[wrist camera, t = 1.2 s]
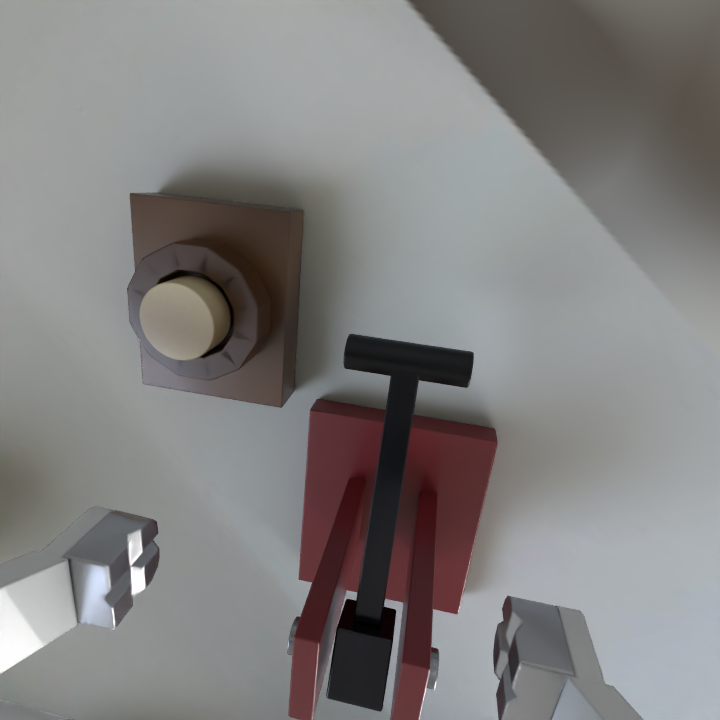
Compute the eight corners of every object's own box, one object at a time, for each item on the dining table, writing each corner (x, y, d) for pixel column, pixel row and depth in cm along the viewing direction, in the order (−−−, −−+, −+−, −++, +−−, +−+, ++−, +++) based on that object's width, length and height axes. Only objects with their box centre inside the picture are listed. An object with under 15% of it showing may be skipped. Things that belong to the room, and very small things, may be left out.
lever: (354, 335, 21) (345, 331, 18) (470, 352, 20) (476, 351, 18) (305, 653, 21) (290, 690, 19) (418, 680, 20) (418, 722, 18)
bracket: (316, 398, 27) (228, 539, 16) (495, 428, 26) (527, 603, 15) (305, 562, 32) (228, 761, 21) (457, 595, 30) (462, 826, 19)
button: (158, 270, 22) (136, 277, 21) (231, 280, 22) (213, 288, 20) (162, 343, 24) (141, 354, 22) (231, 354, 23) (214, 366, 22)
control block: (155, 192, 25) (103, 193, 21) (304, 209, 24) (277, 214, 20) (164, 370, 28) (121, 397, 25) (294, 391, 27) (269, 423, 24)
